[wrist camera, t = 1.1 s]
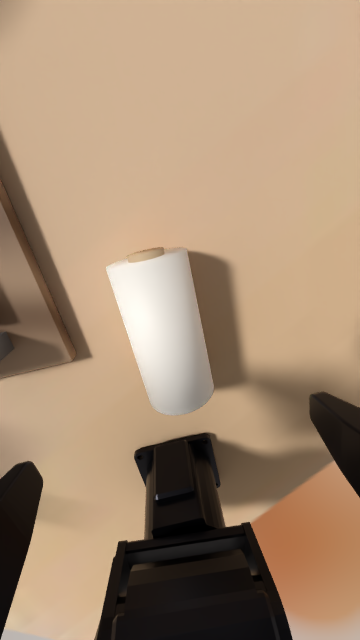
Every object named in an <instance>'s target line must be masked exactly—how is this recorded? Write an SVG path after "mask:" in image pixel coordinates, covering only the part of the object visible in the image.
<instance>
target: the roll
mask: <svg viewBox="0 0 360 640" xmlns="http://www.w3.org/2000/svg"><path fill="white" fill-rule="evenodd" d="M106 270H107V273H108V276H109V279H110V282H111V285H112V288H113V291H114V294H115V297H116V300H117V303H118V306H119V310H120V313H121V316H122V319H123V322H124V325H125V328H126V331H127V334H128V337H129V340H130V343H131V346H132V349H133V352H134V355H135V358H136V361H137V364H138V367H139V370H140V373H141V376H142V379H143V382H144V385H145V388H146V391H147V394H148V397H149V400H150V403H151V405H152V407H153V408H154V409H155V410H156V411H158V412H160V413H162V414H166V415H182V414H187V413H190V412H193V411H195V410H197V409H199V408H200V407H202V406H203V405H204V404H206V403H207V402H208V400H209V399H210V398H211V396H212V394H213V391H214V384H213V379H212V374H211V369H210V364H209V359H208V354H207V349H206V344H205V339H204V334H203V329H202V324H201V319H200V314H199V309H198V303H197V298H196V293H195V288H194V283H193V278H192V273H191V268H190V263H189V258H188V253H187V249H186V248H183V247H179V248H169V249H164V248H163V247H159V248H152V249H148V250H143V251H140V252H136V253H133V254H130V255H128V256H127V258H126V259H123V260H120V261H117V262H115V263H113V264H110V265H109V266H107V267H106Z"/></svg>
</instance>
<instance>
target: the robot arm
mask: <svg viewBox="0 0 360 640" xmlns="http://www.w3.org/2000/svg"><path fill="white" fill-rule="evenodd" d="M309 406H310V418H311V420H312V422H313V424H314V426H315V427H316V429H317V431H318V433H319V434H320V436H321V438H322V440H323V441H324V443H325V445H326V446H327V448H328V450H329V452H330V453H331V455H332V457H333V459H334V460H335V462H336V464H337V465H338V467H339V469H340V470H341V471H342V473H343V475H344V476H345V477H346V479H347V480H348V482H349V483H350V484H351V486H352V487H353V489H354V490H355V492H356V493H357V494H358V496H359V497H360V408H359V407H357V406H354V405H352V404H350V403H348V402H346V401H343V400H341V399H339V398H337V397H335V396H332V395H330V394H328V393H326V392H318V393H314V394H311V395H310V397H309ZM203 440H204V441H203ZM134 459H135V461H136V464H137V466H138V469H139V471H140V474H141V476H142V479H143V481H144V484H145V486H146V507H145V536H144V540H138V541H131V542H128V541H127V540H125V541H119V542H118V547H117V551H116V556H115V557H114V558H113V562H112V567H111V572H110V577H109V581H108V586H107V591H106V596H105V601H104V605H103V610H102V615H101V620H100V623H99V626H98V629H97V633H96V636H95V639H94V640H293V639H292V636H291V631H290V628H289V624H288V621H287V617H286V614H285V611H284V608H283V605H282V602H281V599H280V596H279V594H278V591H277V588H276V586H275V583H274V581H273V578H272V576H271V573H270V571H269V569H268V566H267V564H266V561H265V559H264V556H263V554H262V551H261V549H260V546H259V544H258V541H257V539H256V536H255V534H254V532H253V529H252V527H251V524H250V522H246V523H241V525H238V526H231V527H226V526H225V522H224V517H223V513H222V509H221V504H220V500H219V496H218V491H217V488H218V487H220V479H219V475H218V471H217V466H216V462H215V457H214V453H213V449H212V444H211V440H210V436H209V435H208V434H201V435H197V436H192V437H188V438H184V439H180V440H175V441H171V442H167V443H163V444H158V445H154V446H150V447H146V448H142V449H138V450H136V451H135V454H134ZM42 488H43V479H42V476H41V475H40V473H39V471H38V470H37V468H36V467H35V465H34V463H33V462H31V461H27V462H22V463H19V464H16V465H15V466H14V467H13V468H12V469H11V470H10V471H8V472H7V473H6V474H5V475H4V476H3V477H2V478H1V479H0V639H1V636H2V633H3V630H4V627H5V623H6V620H7V617H8V614H9V610H10V607H11V604H12V601H13V597H14V594H15V591H16V588H17V585H18V581H19V578H20V575H21V572H22V568H23V565H24V562H25V559H26V555H27V552H28V548H29V545H30V541H31V537H32V533H33V529H34V524H35V520H36V515H37V510H38V506H39V501H40V497H41V492H42Z"/></svg>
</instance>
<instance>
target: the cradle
mask: <svg viewBox="0 0 360 640" xmlns="http://www.w3.org/2000/svg"><path fill="white" fill-rule="evenodd" d="M75 355H76V352H75V350H74V347H73V345H72V343H71V340H70V338H69V336H68V333H67V331H66V329H65V327H64V324H63V322H62V320H61V317H60V315H59V313H58V310H57V308H56V306H55V303H54V301H53V299H52V297H51V294H50V292H49V290H48V287H47V285H46V283H45V280H44V278H43V276H42V274H41V271H40V269H39V267H38V264H37V262H36V260H35V257H34V255H33V253H32V250H31V248H30V246H29V244H28V241H27V239H26V237H25V234H24V232H23V230H22V227H21V225H20V223H19V221H18V218H17V216H16V214H15V211H14V209H13V207H12V204H11V202H10V200H9V197H8V195H7V193H6V191H5V188H4V186H3V184H2V181H1V179H0V378H3V377H7V376H12V375H16V374H20V373H24V372H29V371H33V370H37V369H41V368H46V367H50V366H54V365H59V364H63V363H67V362H71V361H72V360H73V359H74V357H75Z"/></svg>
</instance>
